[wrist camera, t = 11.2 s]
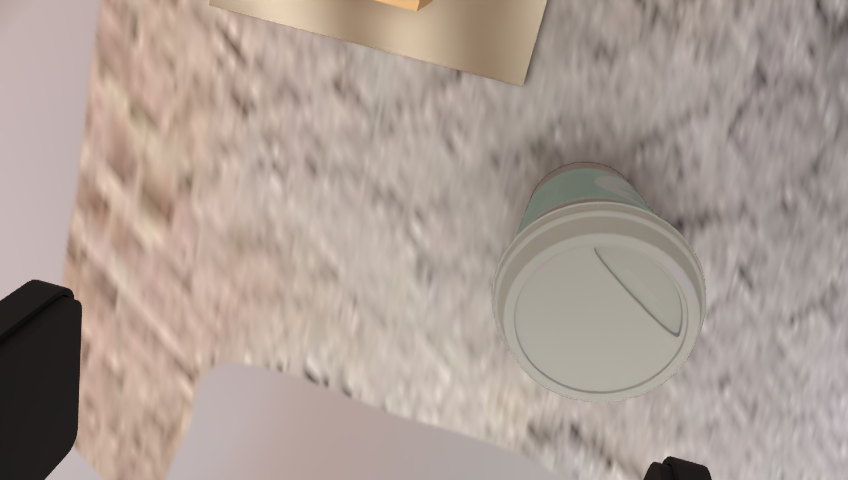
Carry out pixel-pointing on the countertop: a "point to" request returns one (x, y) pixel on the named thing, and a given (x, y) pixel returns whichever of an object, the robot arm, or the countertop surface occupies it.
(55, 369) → the robot arm
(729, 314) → the countertop surface
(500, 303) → the coffee cup
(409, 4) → the tan matte cube
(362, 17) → the post board
